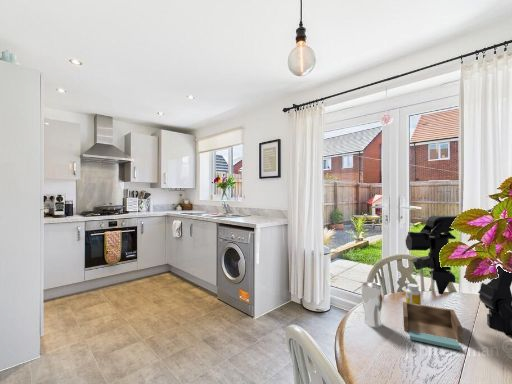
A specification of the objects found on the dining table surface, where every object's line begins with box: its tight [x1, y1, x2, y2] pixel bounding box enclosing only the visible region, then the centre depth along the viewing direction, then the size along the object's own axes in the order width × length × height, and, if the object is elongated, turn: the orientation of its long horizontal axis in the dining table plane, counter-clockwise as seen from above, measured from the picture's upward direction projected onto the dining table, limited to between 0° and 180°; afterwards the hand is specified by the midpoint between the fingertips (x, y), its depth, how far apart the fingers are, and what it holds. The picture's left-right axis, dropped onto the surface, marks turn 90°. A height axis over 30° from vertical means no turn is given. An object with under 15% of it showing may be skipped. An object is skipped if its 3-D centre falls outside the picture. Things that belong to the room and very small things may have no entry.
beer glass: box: [361, 281, 384, 329], centre depth 94 cm, size 7×7×15 cm
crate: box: [402, 301, 464, 343], centre depth 90 cm, size 16×13×6 cm
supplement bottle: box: [405, 283, 422, 305], centre depth 108 cm, size 5×5×10 cm
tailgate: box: [408, 330, 462, 351], centre depth 82 cm, size 13×1×7 cm
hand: (440, 293), depth 92 cm, fingers closed
